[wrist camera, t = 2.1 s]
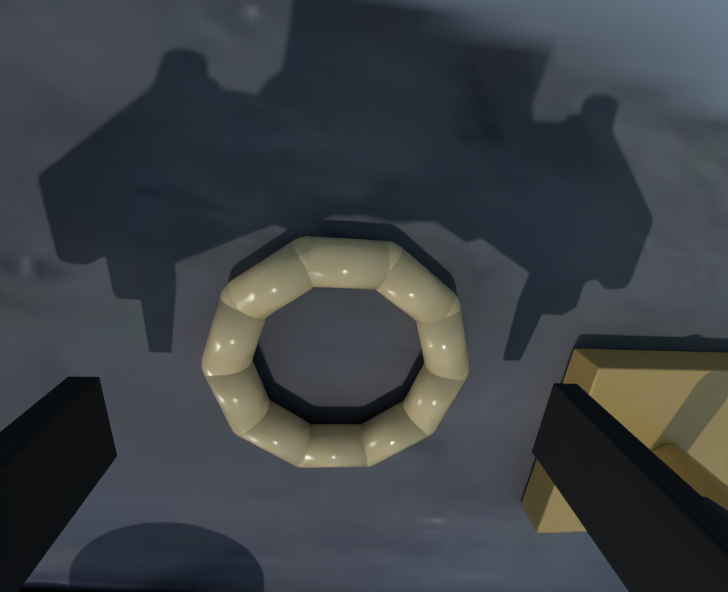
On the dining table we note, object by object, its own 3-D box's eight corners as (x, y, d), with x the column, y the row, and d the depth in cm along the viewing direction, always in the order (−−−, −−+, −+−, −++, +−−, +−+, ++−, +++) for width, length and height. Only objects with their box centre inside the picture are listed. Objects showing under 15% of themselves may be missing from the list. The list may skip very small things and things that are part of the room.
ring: (198, 224, 11) (178, 234, 10) (483, 242, 12) (504, 253, 11) (219, 445, 14) (206, 478, 13) (441, 444, 15) (453, 474, 14)
